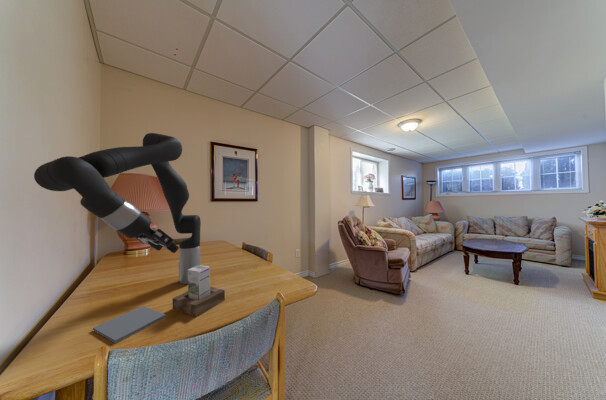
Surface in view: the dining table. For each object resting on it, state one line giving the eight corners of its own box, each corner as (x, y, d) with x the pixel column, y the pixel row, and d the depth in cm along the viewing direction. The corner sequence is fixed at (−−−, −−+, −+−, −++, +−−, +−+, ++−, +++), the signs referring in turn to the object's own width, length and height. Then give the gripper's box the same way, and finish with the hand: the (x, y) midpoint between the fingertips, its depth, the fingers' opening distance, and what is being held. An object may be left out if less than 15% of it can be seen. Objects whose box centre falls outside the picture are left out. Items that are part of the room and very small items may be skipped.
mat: (92, 330, 64) (92, 327, 64) (143, 308, 76) (143, 305, 76) (115, 343, 58) (115, 340, 58) (165, 317, 70) (165, 314, 70)
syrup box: (211, 301, 81) (210, 265, 81) (199, 309, 75) (198, 270, 75) (200, 299, 83) (199, 264, 83) (187, 306, 77) (187, 269, 77)
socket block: (172, 308, 76) (172, 298, 76) (202, 293, 88) (202, 284, 88) (195, 317, 71) (195, 305, 70) (224, 299, 82) (224, 290, 82)
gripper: (151, 209, 57) (189, 241, 68) (124, 209, 63) (163, 238, 74) (129, 230, 53) (173, 261, 63) (102, 228, 59) (147, 256, 69)
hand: (168, 249), depth 68 cm, fingers open, 8 cm apart
